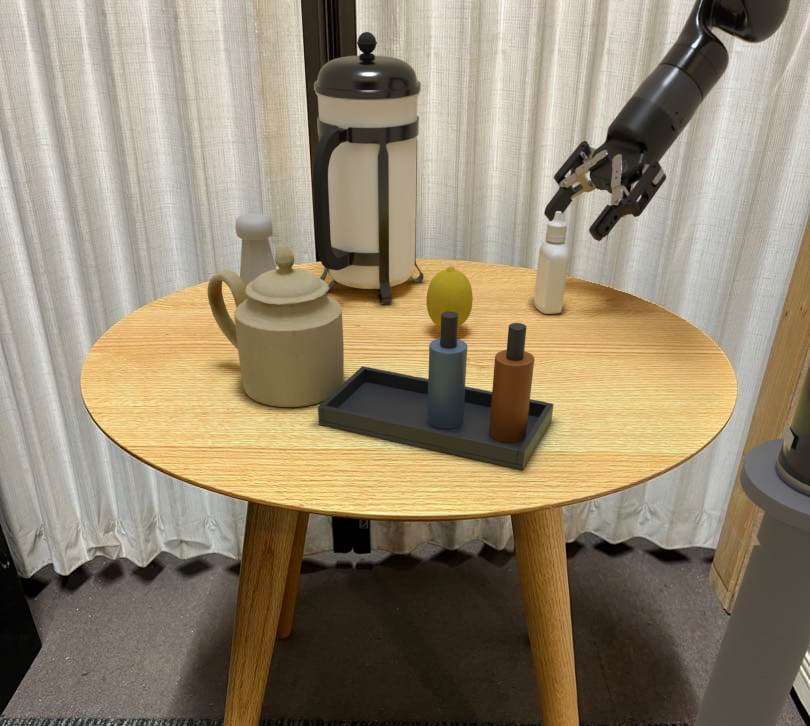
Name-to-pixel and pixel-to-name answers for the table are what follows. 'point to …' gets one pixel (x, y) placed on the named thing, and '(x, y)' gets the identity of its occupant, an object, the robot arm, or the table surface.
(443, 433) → the tray
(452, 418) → the slate-blue bottle
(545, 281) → the eye dropper bottle
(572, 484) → the table surface
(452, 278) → the lemon
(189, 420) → the table surface
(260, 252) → the salt shaker
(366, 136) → the coffee press
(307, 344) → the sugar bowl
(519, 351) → the amber bottle
